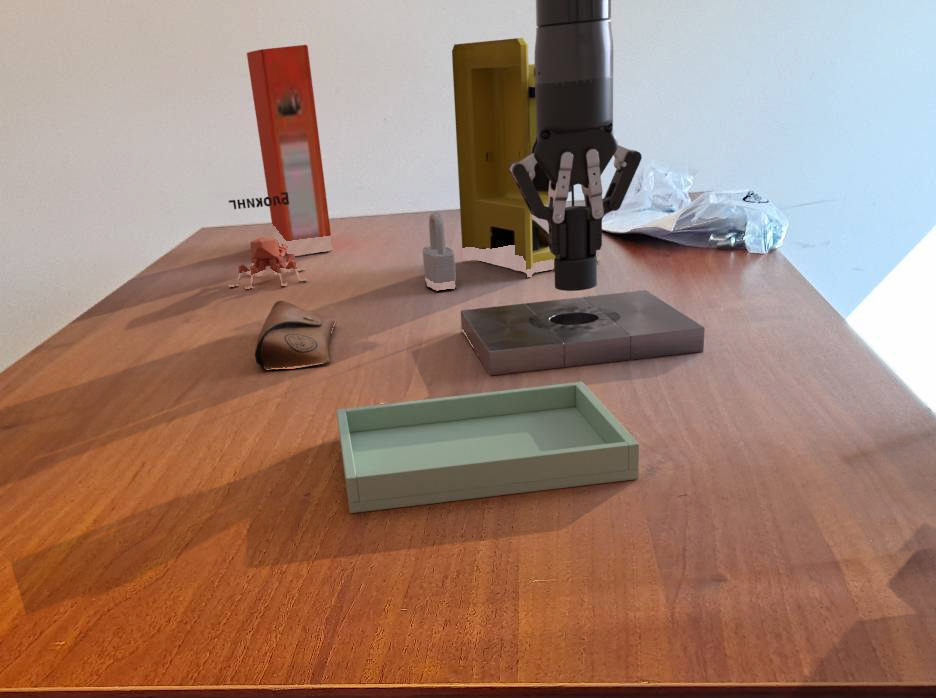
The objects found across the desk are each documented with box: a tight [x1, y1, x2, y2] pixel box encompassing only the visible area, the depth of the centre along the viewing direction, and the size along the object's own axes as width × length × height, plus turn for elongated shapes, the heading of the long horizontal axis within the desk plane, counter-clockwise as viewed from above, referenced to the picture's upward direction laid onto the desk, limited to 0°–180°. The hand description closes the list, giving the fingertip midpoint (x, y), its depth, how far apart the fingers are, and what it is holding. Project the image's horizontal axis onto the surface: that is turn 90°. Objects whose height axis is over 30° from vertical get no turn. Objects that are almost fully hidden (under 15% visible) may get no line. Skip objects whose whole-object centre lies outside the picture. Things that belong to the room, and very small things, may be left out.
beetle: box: [228, 192, 297, 275], centre depth 148 cm, size 15×12×13 cm
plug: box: [553, 205, 598, 292], centre depth 102 cm, size 4×4×8 cm
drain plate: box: [460, 289, 706, 377], centre depth 106 cm, size 22×18×2 cm
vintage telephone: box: [451, 37, 600, 270], centre depth 138 cm, size 31×14×30 cm, turn 26°
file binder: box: [246, 44, 332, 241], centre depth 167 cm, size 8×17×32 cm, turn 14°
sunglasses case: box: [254, 300, 336, 370], centre depth 113 cm, size 18×7×7 cm
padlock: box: [422, 211, 457, 283], centre depth 134 cm, size 7×4×10 cm, turn 11°
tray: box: [336, 381, 640, 514], centre depth 78 cm, size 22×16×3 cm
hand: (575, 256), depth 102 cm, fingers closed on plug, 2 cm apart
